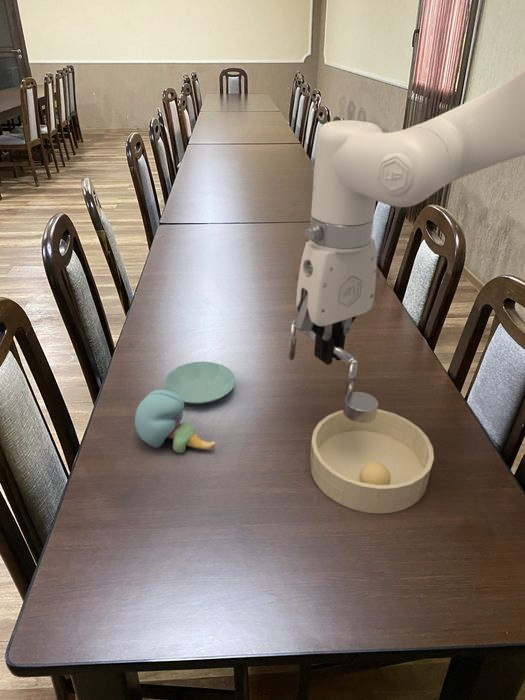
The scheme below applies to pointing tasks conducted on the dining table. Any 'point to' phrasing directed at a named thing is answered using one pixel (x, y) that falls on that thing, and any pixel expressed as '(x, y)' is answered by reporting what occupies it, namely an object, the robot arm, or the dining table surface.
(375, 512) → the bowl
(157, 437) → the multicolor toy piece
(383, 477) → the tan ball
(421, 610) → the dining table surface
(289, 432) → the dining table surface
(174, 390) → the saucer
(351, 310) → the robot arm
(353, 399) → the ladle
